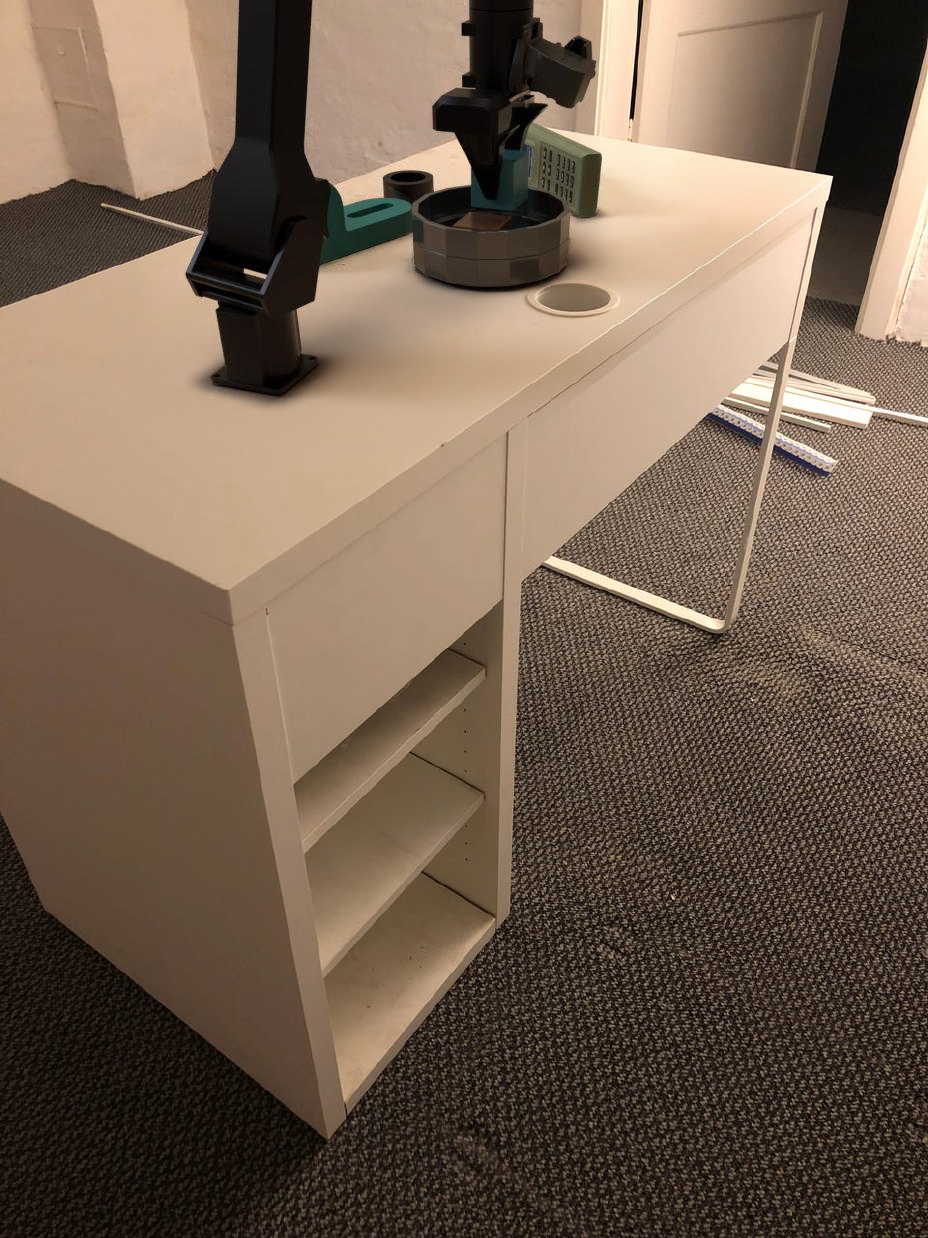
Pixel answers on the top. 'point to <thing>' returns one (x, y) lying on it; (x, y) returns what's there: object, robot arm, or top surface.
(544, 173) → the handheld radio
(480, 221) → the walnut block
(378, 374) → the top surface
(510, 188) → the teal block
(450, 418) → the top surface
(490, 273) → the faceted round tray
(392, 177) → the duct tape
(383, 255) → the top surface
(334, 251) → the bracket
